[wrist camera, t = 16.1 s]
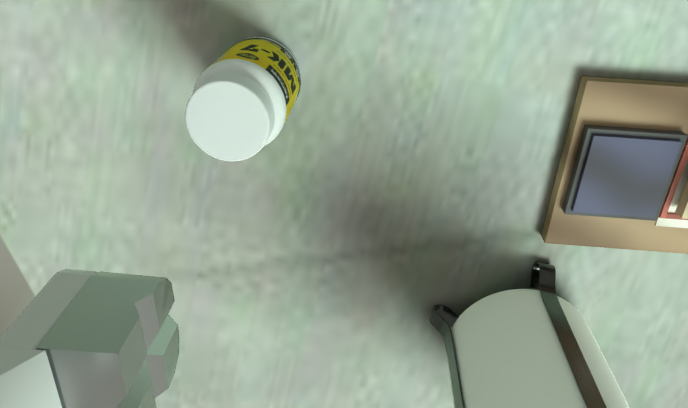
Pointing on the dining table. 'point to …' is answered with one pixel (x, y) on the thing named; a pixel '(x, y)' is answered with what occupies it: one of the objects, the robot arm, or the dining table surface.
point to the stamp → (683, 203)
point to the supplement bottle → (243, 99)
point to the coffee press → (525, 351)
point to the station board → (622, 167)
